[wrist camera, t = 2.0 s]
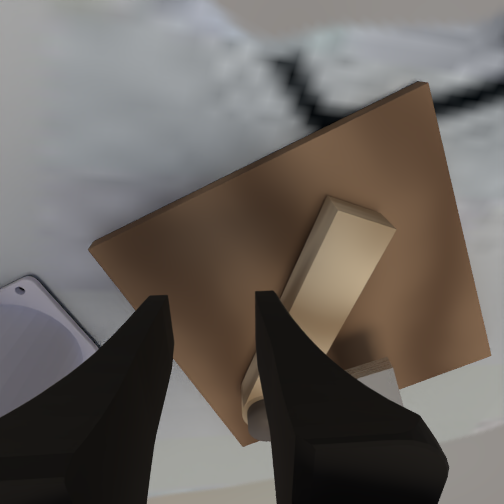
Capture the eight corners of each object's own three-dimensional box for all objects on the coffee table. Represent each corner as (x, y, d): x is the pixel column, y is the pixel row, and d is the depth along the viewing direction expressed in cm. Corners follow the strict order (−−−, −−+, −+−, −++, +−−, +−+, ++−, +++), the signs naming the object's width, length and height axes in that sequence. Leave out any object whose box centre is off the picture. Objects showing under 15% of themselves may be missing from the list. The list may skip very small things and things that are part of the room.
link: (277, 406, 25) (283, 448, 22) (234, 398, 25) (235, 439, 22) (380, 213, 19) (405, 238, 16) (327, 195, 18) (344, 219, 16)
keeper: (344, 400, 26) (361, 449, 22) (322, 339, 23) (337, 384, 20) (388, 387, 25) (411, 435, 22) (369, 323, 23) (392, 367, 20)
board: (242, 434, 28) (242, 446, 27) (93, 241, 20) (87, 249, 19) (482, 345, 25) (491, 355, 25) (418, 81, 18) (428, 82, 17)
